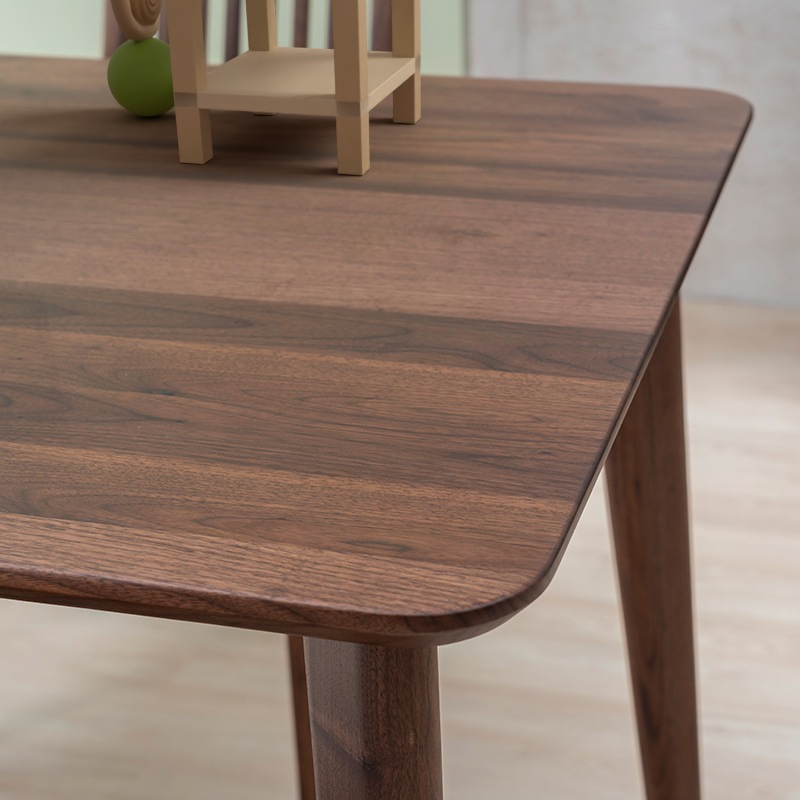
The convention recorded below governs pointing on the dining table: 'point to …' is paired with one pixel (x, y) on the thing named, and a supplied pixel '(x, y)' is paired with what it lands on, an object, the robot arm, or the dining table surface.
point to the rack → (296, 76)
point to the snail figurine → (141, 60)
